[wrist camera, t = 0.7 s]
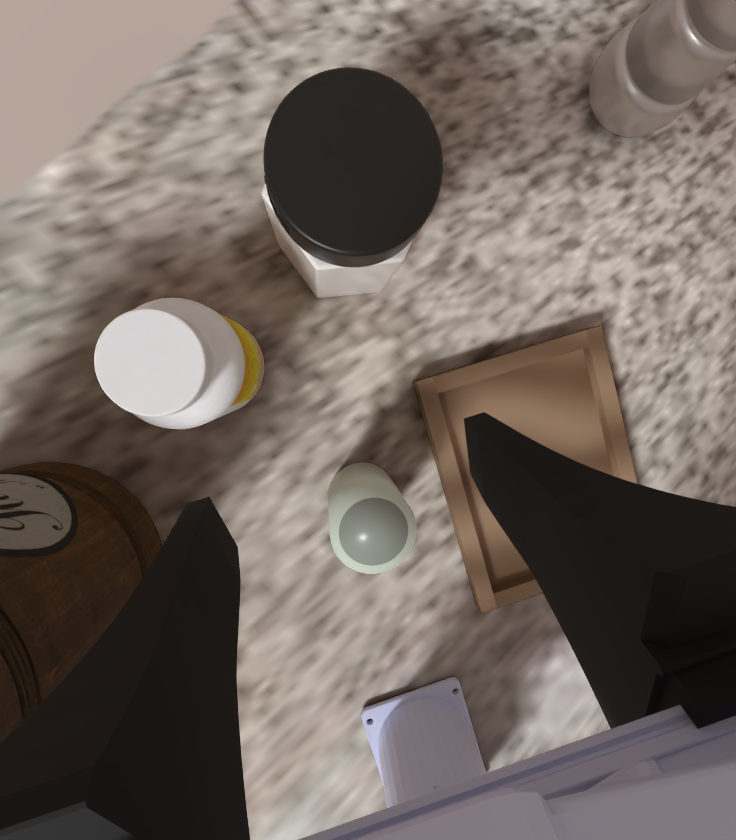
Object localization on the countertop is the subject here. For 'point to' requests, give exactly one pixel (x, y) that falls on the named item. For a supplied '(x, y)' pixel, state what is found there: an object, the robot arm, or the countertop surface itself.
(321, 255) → the jar
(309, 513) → the countertop surface
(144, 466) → the countertop surface
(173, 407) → the supplement bottle
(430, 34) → the countertop surface
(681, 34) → the plastic bottle
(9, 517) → the wooden container
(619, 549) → the robot arm
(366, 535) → the cup
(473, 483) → the tray
